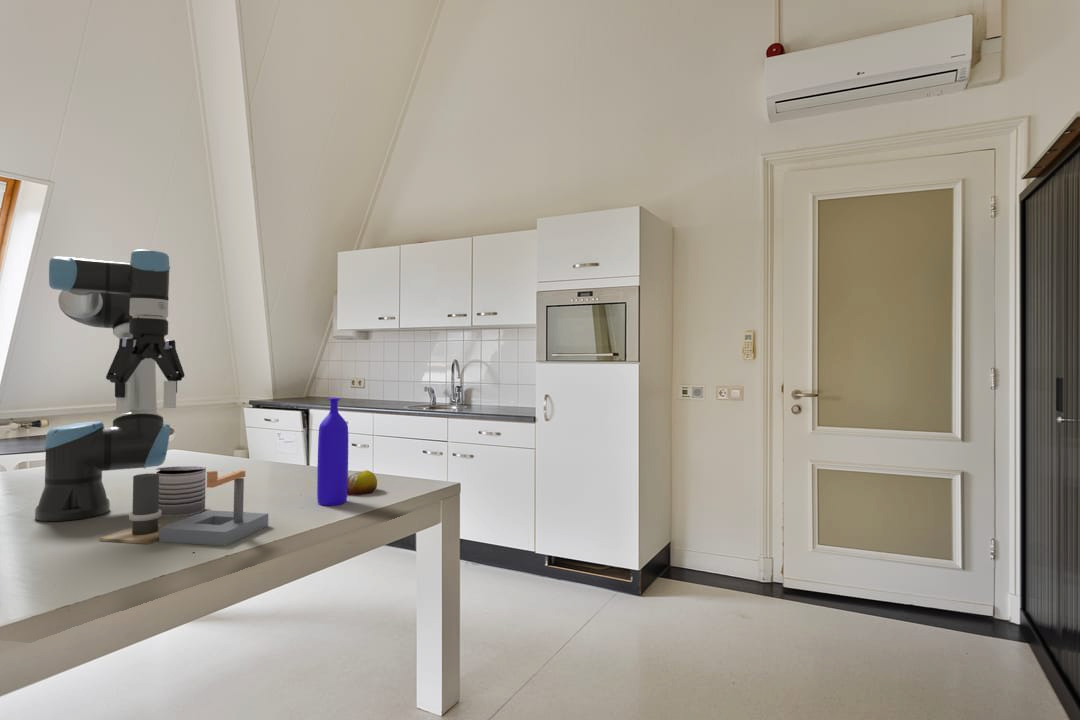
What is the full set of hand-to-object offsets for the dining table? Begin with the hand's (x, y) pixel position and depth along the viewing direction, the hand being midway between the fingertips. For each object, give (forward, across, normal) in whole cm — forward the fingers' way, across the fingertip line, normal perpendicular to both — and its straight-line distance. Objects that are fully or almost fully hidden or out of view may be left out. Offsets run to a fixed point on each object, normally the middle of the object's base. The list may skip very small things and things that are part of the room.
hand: (147, 410), depth 137 cm
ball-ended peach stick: (+15, -1, -21) cm, 26 cm away
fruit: (+29, +52, -28) cm, 66 cm away
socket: (+29, +4, -15) cm, 33 cm away
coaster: (+29, 0, 0) cm, 29 cm away
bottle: (+29, +37, -27) cm, 54 cm away
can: (+29, +20, +7) cm, 36 cm away
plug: (+28, 0, 0) cm, 28 cm away
